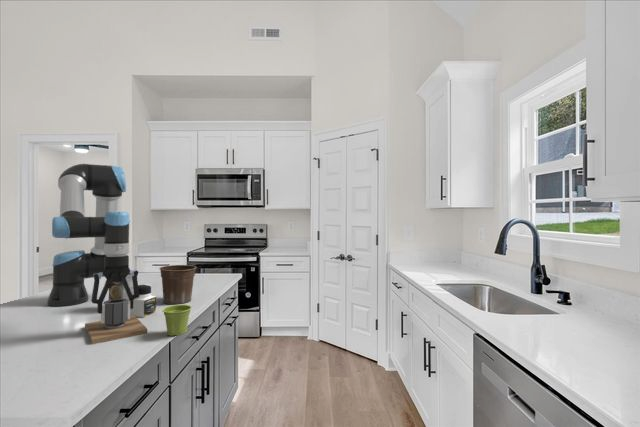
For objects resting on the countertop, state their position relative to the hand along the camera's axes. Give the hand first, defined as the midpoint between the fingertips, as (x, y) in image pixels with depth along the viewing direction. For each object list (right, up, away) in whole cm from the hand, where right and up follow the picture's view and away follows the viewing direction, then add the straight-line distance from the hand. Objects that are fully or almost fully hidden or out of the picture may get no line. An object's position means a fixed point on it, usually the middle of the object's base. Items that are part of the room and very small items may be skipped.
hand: (115, 320), depth 120 cm
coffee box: (-13, -4, +27) cm, 30 cm away
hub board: (0, -4, 0) cm, 4 cm away
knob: (0, 0, 0) cm, 0 cm away
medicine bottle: (-1, -4, +19) cm, 20 cm away
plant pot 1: (+5, -4, +41) cm, 41 cm away
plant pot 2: (+22, -4, -2) cm, 23 cm away
